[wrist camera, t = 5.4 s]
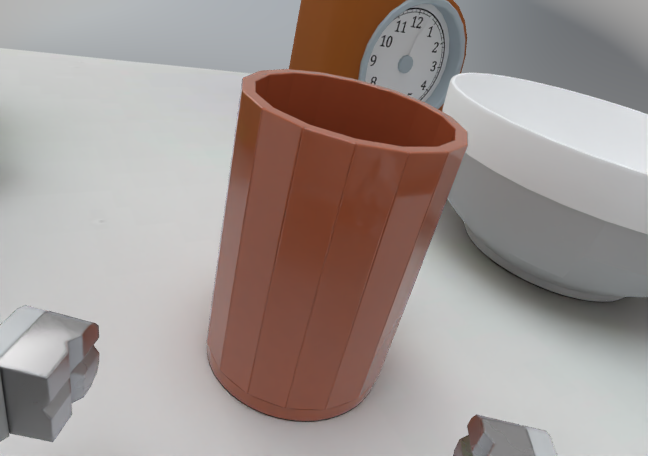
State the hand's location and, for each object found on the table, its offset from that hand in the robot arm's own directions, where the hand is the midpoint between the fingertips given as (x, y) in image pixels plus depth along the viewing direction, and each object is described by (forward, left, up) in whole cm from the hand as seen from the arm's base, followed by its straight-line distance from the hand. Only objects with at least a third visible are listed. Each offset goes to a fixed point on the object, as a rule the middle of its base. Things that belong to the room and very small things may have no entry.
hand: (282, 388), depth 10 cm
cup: (+4, -6, -6) cm, 9 cm away
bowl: (-1, -26, -6) cm, 27 cm away
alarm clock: (+20, -35, -6) cm, 41 cm away
